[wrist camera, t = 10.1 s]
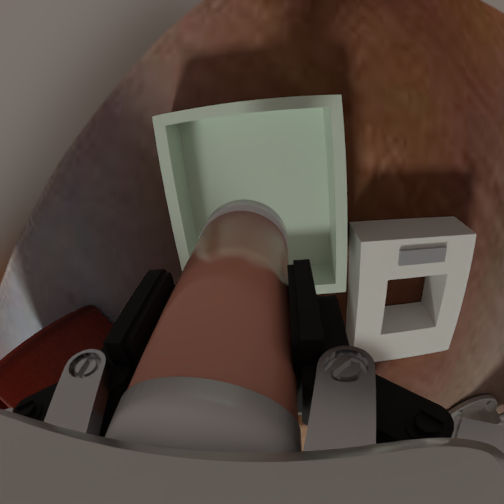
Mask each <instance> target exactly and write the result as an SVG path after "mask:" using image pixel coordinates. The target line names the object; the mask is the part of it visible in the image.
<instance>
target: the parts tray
mask: <svg viewBox="0 0 504 504" xmlns="http://www.w3.org/2000/svg"><path fill="white" fill-rule="evenodd" d="M152 120H153V126H154V132H155V139H156V145H157V151H158V157H159V162H160V168H161V173H162V179H163V184H164V189H165V195H166V200H167V205H168V210H169V215H170V219H171V224H172V229H173V233H174V238H175V243H176V247H177V252H178V256H179V260H180V265H181V269H182V271H183V269H184V267H185V265H186V263H187V261H188V259H189V257H190V255H191V253H192V251H193V249H194V247H195V246H196V244H197V242H198V239H199V236H200V234H201V231H202V230H203V228H204V226H205V224H206V222H207V220H208V218H209V217H210V216H211V214H212V213H213V212H214V211H215V210H216V209H217V208H219V207H220V206H222V205H223V204H225V203H228V202H230V201H234V200H241V199H247V200H254V201H258V202H261V203H263V204H265V205H267V206H269V207H270V208H272V209H273V210H274V211H275V212H276V213H277V214H278V215H279V216H280V218H281V219H282V221H283V223H284V225H285V227H286V231H287V236H288V246H289V258H288V260H289V265H292V264H293V260H302V259H309V260H310V264H311V269H312V274H313V279H314V284H315V290H316V294H326V293H338V292H346V278H347V175H346V152H345V135H344V120H343V108H342V96H341V95H313V96H294V97H280V98H269V99H258V100H249V101H240V102H232V103H225V104H218V105H211V106H205V107H199V108H193V109H187V110H182V111H176V112H171V113H166V114H161V115H156V116H152Z"/></svg>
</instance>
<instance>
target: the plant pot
mask: <svg viewBox="0 0 504 504" xmlns="http://www.w3.org/2000/svg"><path fill="white" fill-rule="evenodd" d="M112 327H113V324H112V323H111V322H110V321H109V320H108V319H107V318H106V317H105V316H104V315H103V314H102V313H101V312H100V311H99V310H98V309H97V308H96V307H94V306H92V305H87V306H85V307H82V308H80V309H78V310H76V311H74V312H72V313H70V314H67V315H66V316H64V317H62V318H60V319H58V320H56V321H55V322H53V323H51V324H50V325H48V326H46V327H45V328H43V329H41V330H40V331H39V332H37V333H36V334H34V335H33V336H31V337H30V338H28V339H27V340H26V341H24V342H23V343H22V344H20V345H19V346H18V347H16V348H15V349H14V350H12V351H11V352H10V353H9V354H7V355H6V356H5V357H4V358H3V359H1V360H0V409H3V410H5V409H8V408H12V407H13V408H15V407H16V405H17V404H18V403H19V402H20V401H21V400H23V399H24V398H26V397H28V396H30V395H32V394H34V393H36V392H38V391H40V390H42V389H44V388H46V387H49V386H51V385H53V384H55V383H57V382H59V380H60V377H61V375H62V372H63V370H64V368H65V365H66V364H67V362H68V360H69V359H70V358H71V357H72V356H74V355H75V354H77V353H79V352H81V351H84V350H88V349H97V350H99V351H101V349H102V347H103V346H104V344H103V341H104V340H105V338H106V336H107V335H108V333H109V332H110V330H111V328H112Z"/></svg>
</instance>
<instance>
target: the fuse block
mask: <svg viewBox="0 0 504 504" xmlns="http://www.w3.org/2000/svg"><path fill="white" fill-rule="evenodd" d="M475 240H476V233H475V232H473V231H472V230H471V229H470V228H468V227H467V226H466V225H465V224H463V223H462V222H461V221H459V220H458V219H457V218H456V217H454V216H450V217H429V218H409V219H391V220H373V221H357V222H349V275H348V298H347V315H346V334H347V338H348V342H349V346H355V347H358V348H361V349H363V350H365V351H366V352H367V353H369V354H370V355H371V357H372V358H373V360H374V362H378V361H385V360H392V359H399V358H405V357H411V356H417V355H423V354H428V353H434V352H439V351H444V350H448V348H449V345H450V342H451V339H452V336H453V333H454V330H455V326H456V323H457V320H458V316H459V313H460V309H461V305H462V301H463V297H464V293H465V289H466V285H467V281H468V276H469V272H470V267H471V262H472V257H473V252H474V246H475ZM423 276H425V282H424V288H423V293H422V299H421V302H415V303H407V304H399V305H390V306H385V300H386V292H387V284H388V280H394V279H404V278H414V277H423Z"/></svg>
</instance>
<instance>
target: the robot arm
mask: <svg viewBox="0 0 504 504" xmlns="http://www.w3.org/2000/svg"><path fill="white" fill-rule="evenodd" d="M287 271H288V286H289V302H290V319H291V338H292V358H293V370H294V373H295V376H296V381H297V399H298V413H302V422H303V423H304V424H305V425H307V426H308V427H307V432H306V438H305V443H304V448H303V451H298V452H272V453H241V452H215V451H199V450H187V449H177V448H168V447H160V446H152V445H145V444H139V443H133V442H127V441H121V440H116V439H111V438H106V437H105V435H106V432H107V430H108V427H109V425H110V423H111V420H112V418H113V415H114V413H115V411H116V408H117V406H118V404H119V401H120V399H121V397H122V395H123V394H124V393H125V391H127V389H128V387H129V384H130V382H131V380H132V377H133V375H134V373H135V371H136V368H137V366H138V364H139V362H140V360H141V357H142V355H143V353H144V351H145V349H146V346H147V344H148V342H149V340H150V338H151V335H152V333H153V331H154V329H155V327H156V325H157V323H158V321H159V318H160V316H161V314H162V312H163V310H164V308H165V306H166V304H167V302H168V300H169V298H170V296H171V293H172V291H173V289H174V287H175V285H174V282H173V278H172V275H171V273H167V272H166V270H165V269H158V270H149V271H148V272H147V274H146V275H145V277H144V278H143V280H142V281H141V283H140V284H139V286H138V287H137V289H136V290H135V292H134V293H133V295H132V297H131V298H130V300H129V301H128V303H127V304H126V306H125V307H124V309H123V311H122V312H121V314H120V315H119V317H118V319H117V320H116V322H115V323H114V325H113V327H112V328H111V330H110V332H109V333H108V335H107V336H106V338H105V340H104V341H103V344H104V346H103V347H102V349H101V351H99V350H97V349H88V350H84V351H81V352H79V353H77V354H75V355H74V356H72V357H71V358H70V359H69V360H68V362H67V364H66V365H65V368H64V370H63V372H62V375H61V377H60V380H59V382H57V383H55V384H53V385H51V386H49V387H46V388H44V389H42V390H40V391H38V392H36V393H34V394H32V395H30V396H28V397H26V398H24V399H23V400H21V401H20V402H19V403H18V404H17V405H16V407H15V408H13V407H12V408H8V409H5V410H3V409H0V504H504V412H503V413H501V414H498V413H497V411H496V409H497V401H496V399H495V397H493V396H492V395H479V396H476V397H473V398H470V399H468V400H466V401H464V402H462V403H460V404H458V405H457V406H455V407H453V408H452V409H450V410H449V411H447V410H446V409H445V408H443V407H442V406H440V405H438V404H436V403H434V402H432V401H430V400H428V399H426V398H423V397H421V396H419V395H417V394H415V393H413V392H411V391H409V390H407V389H405V388H403V387H401V386H398V385H396V384H394V383H392V382H390V381H388V380H386V379H384V378H382V377H380V376H378V375H376V374H375V364H374V360H373V358H372V357H371V355H370V354H369V353H367V352H366V351H365V350H363V349H361V348H358V347H355V346H349V342H348V338H347V334H346V330H345V326H344V322H343V319H342V315H341V311H340V308H339V304H338V300H337V297H336V295H330V296H318V297H317V295H316V290H315V284H314V279H313V274H312V269H311V264H310V260H309V259H302V260H293V264H292V265H287Z"/></svg>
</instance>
